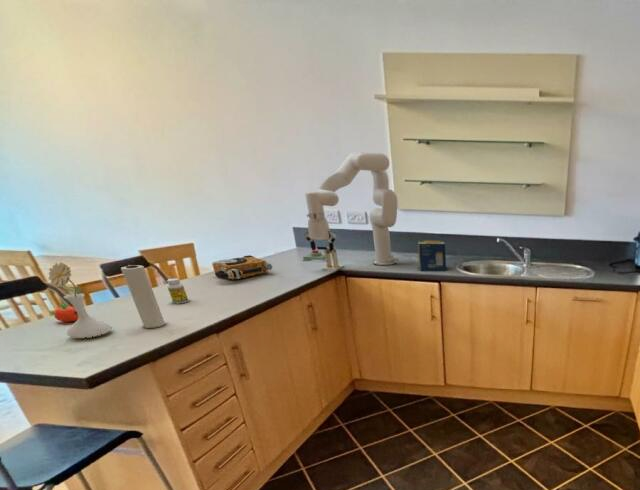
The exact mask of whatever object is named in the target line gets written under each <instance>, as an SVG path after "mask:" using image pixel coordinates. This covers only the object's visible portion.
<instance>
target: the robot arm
mask: <svg viewBox="0 0 640 490" xmlns="http://www.w3.org/2000/svg"><path fill="white" fill-rule="evenodd" d="M389 167H390V160H389V157H388V156H387V155H386V154H384V153H382V152H381V153H380V152H363V151H362V152H359V151H352V152H350V153H349V154H348V155H347V156H346V157H345V159H344V160H343V161H342V163H341V164H340V165H339V167H338V168H337V169H336V171H334V172H333V173H332V174H331V175H329V176H328V177H327V178H326V179H325V180H323V181H322V183H321V184H320V185H319V186H318V188H317V189H316V190H307V191H305V201H306V205H307V210H308V213H306V217H307V218H308V219H307V229H308V231H306V232H304V233H303V236H304V237H305V239H306V240H307V241H308V242H309V244H310V248H311V251H312V250H317V247H316V242H315V240H317V241H318V240H320V241H322V240H323V241H327V242H328V247H329V249H330V251H333V249H334V247H335V246H334V243H335V241H336V240H337V234H336V233H334V232H332V231H331V229H330V225H329V223H328V222H329V221H328V220H327V219H326V215H325V210H324V209H325V208H324V206H327V207H334V206H335V207H336V205H338V204H339V202H340V201H339V200H340V199H339V195H338V194H337V192H336V191H338V190H340V189H342V188H344V187H345V188H346V187H347V186H349V185H350V184H351V183H352V182H353V180H354V179H355V178H356V176H357V175H358V174H359V172H360V171H368V172H369V171H370V173H371V176H372V179H373V180H372V181H373V184H372V201H373V204H375V205H376V206H379V207H376V208H375V207H374V208H373V209H371V210H370V212H369V222H370V224H371V229H372V236H373V245H374V253H375V254H374V255H375V260H374V261H373V263H374V265H377V266H391V265H394V264H395V263H396V262H399V261H400V258H399V257H397V256H396V257H394V255H393V254H392V246H391V236H390V234H391V233H390V229H389V228H392V227H394V226H395V224H396V222H397V216H398V197H397V194H396V192H395V191H393V190H392V189H390V187H389V186H390V180H389V179H390V178H389V175H388V172H387V171H386V170H388V168H389ZM380 207H382V208H380Z"/></svg>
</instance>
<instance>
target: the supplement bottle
mask: <svg viewBox="0 0 640 490" xmlns="http://www.w3.org/2000/svg"><path fill="white" fill-rule="evenodd" d="M166 281H167V290H168V293H169V295H170V299H171V301H172V303H173V304H184V303H188V302H189V297H188V295H187V291H186V290H185V287H184V285H183V283H181V281H180V279H179V278H177V277H176V278H168V279H167V280H166Z"/></svg>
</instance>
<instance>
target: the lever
mask: <svg viewBox="0 0 640 490" xmlns="http://www.w3.org/2000/svg"><path fill="white" fill-rule="evenodd" d="M327 247H328V246H317V247H316V250H318V251H320V250H323V251H324V250H325V251H327V253H330V255H332V252H331V251H330V248H327Z"/></svg>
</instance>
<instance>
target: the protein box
mask: <svg viewBox="0 0 640 490" xmlns="http://www.w3.org/2000/svg"><path fill="white" fill-rule="evenodd" d="M417 250H418V251H417V252H418V264H419V270H420V271H421V272H428V271H430V272H432V271H433V272H435V271H447V259H446V258H447V257H446V256H447V255H446V254H447V253H446V243H445V242H444V240H417Z"/></svg>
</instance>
